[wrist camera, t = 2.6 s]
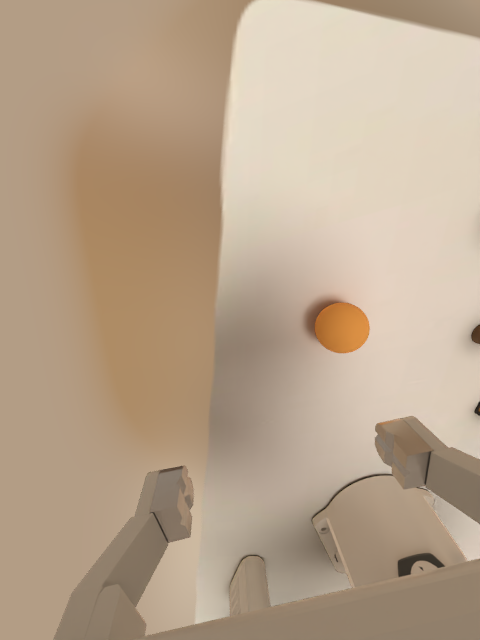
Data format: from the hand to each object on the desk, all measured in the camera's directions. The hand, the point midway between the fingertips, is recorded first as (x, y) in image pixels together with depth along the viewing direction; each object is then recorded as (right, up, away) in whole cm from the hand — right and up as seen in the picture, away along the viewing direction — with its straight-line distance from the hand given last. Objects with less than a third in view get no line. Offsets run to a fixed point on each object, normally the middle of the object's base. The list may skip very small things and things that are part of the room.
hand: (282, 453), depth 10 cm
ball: (+8, +5, +14) cm, 17 cm away
